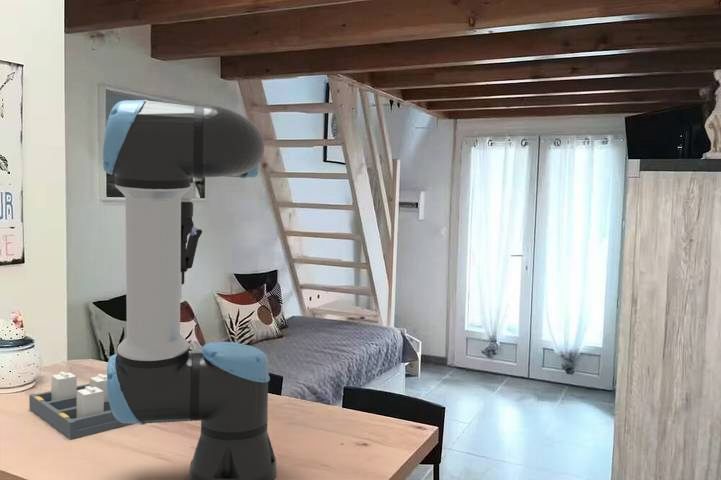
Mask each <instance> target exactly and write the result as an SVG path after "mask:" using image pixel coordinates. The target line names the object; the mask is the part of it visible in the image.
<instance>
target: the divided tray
mask: <svg viewBox="0 0 721 480" xmlns="http://www.w3.org/2000/svg"><path fill="white" fill-rule="evenodd" d="M86 386H90V383H86V384H80V385H77V390H81V389H85V387H86ZM28 400H29V405H28V407H29V408H28V409H29V411H30V412H32V413H33V414H35V415H36V416H37V417H39V418H40V419H41V420H42V421H44V422H45V423H47V425H49V426H51V427H52V428H53V429H55V430H56V431H58V432H59V433H60V434H62V435H63V436H64V437H66V438H67V439H68V440H75V439H79V438H83V437H86V436H87V437H88V436H92V435H96V434H98V433H102V432H106V431H110V430H116V429H118V428H123V427H126V426H131V425H135V424H136V423H121V422H119V421H118V420H117V419H116V418H115V417H114V416H113V414H112V411H111V408H110V404H109V400H105V401H104V412H103V413H99V414H94V415H90V416H86V417H81V418H77V396H74V397H69V398H64V399H59V400H54V401H51V390H50V391H43V392H40V393H39V392H38V393H31V394H29V397H28Z"/></svg>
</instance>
